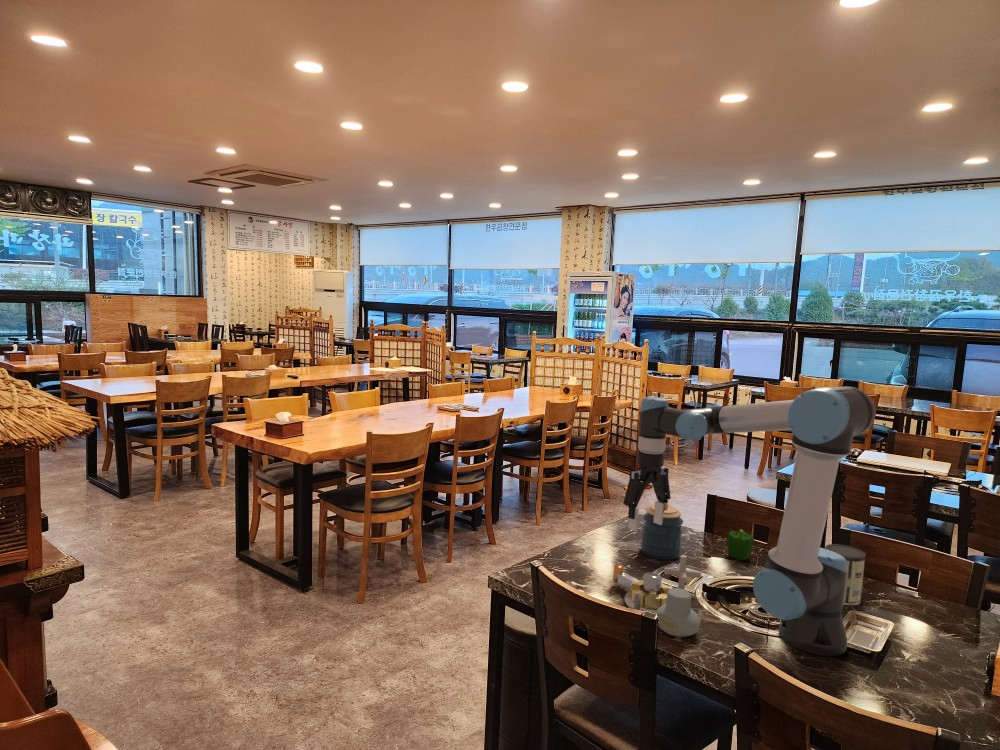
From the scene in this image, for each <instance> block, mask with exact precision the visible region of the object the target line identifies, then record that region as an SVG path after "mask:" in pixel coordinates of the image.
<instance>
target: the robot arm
mask: <svg viewBox="0 0 1000 750" xmlns="http://www.w3.org/2000/svg"><path fill="white" fill-rule="evenodd" d="M876 412H877V411H876V406H875V403H874V401H873V400H872V398H871V397H870V396H869V395H868V393H866V392H864V391H863V390H862V389H860V388H858V387H854V386H848V385H847V386H834V387H833V386H832V387H824V386H823V387H815V388H813V389H809V390H806V391H804V392H802V393H800V394H798V396H796V397H795V398H794V399H787V400H777V401H765V402H758V403H757V402H755V403H746V404H745V403H744V404H732V405H723V406H718V405H717V406H710V407H702V408H691V409H690V408H689V409H679V408H674V407H673V408H672V407H670V405H669V399H667V398H664V397H657V396H645V397H643V398H642V400H641V402H640V410H639V428H638V429H639V430H638V442H637V443H638V444H637V448H638V451H637V452H636V453H637V454H636V455H637V456H636V464H638V468H637V470H635V471H633V470H630V472H629V480H628V482H627V483H628V484H627V488H626V491H625V496H624V499H623V505H624V506H626V507H628V512H627V514H628V515H627V516H628V529H630V530H632V531H634V532H637V531H638V524H639V523H638V522H639V513H640V512H639V510H640V508H638V505H639V502H640V501H641V498H642V496H643V494H644V491H645V489H646V488H648V486H649V485H650V484H651V486H652V488H653V491H654V493H655V497H656V500H655V501H654V505H655V509H654V523H656V524H659V525H662V521H663V513H664V506H665V503H668V504H669V500H671V490H670V482H669V481H670V480H669V471H670V470H669V468H668V467H664V464H665V463H664V462H665V453H664V452H666V450H665V449H666V437H667V435H669V436H673V437H676V438H680V439H684V440H687V441H689V440H691V441H699V440H701V439H702V438H703V437H704V436H706V435H715V434H716V435H717V434H718V435H719V434H735V433H755V432H756V433H757V432H775V431H776V432H777V431H778V432H779V431H780V432H781V431H791V433H792V438H791V443H792V445H793V446H794V447H795V449H796V454H795V460H794V465H793V469H792V470H793V471H792V474H791V479H790V484H789V487H788V488H789V489H788V493H787V498H786V503H785V507H784V512H783V517H782V522H781V526H780V531H779V536H778V539H777V545H776V546H775V547H773V548H771V549H769V551H768V554H767V556H766V557H767V558H766V562H765V566H764V567H765V568H764V569H761V570H759V571H758V573H756V575H755V576H754V579H753V582H752V588H753V589H752V590H753V594H754V597H755V599H756V600H757V601H758V603H759V605H760V607H761V608H762V609H763V610H764V611H765V612H766V613H767V614H769V615H770V616H771V617H773V618H776V619H777V620H780V621H779V625H778V626H779V627H778V634H779V636H780V638H781V639H783V640H784V641H785V642H786V643H787V644H789V645H791V646H792V647H793V648H796V649H798V650H800V651H803V652H806V653H808V654H811V655H812V654H813V655H816V656H817V655H819V656H823V657H836V656H837V657H838V656H840V655H843V654H845V653H846V651H847V648H848V637H847V633H846V632H847V631H846V628H845V625H844V621H843V616H842V615H843V608H844V605H843V601H844V592H845V584H846V576H847V573H848V572H847V561H846V559H845V558H844V557H843V556H841V555H840V554H838V553H835V552H833V551H830V550H827V549H825V547H824V548H823V547H821V544H822V540H823V536H824V535H823V534H824V532H825V531H824V530H825V527H826V522H827V518H828V513H829V508H830V505H831V501H832V500H831V499H832V495H833V491H834V487H835V483H836V479H837V478H836V477H837V474H838V468H839V464H840V461H841V460H842V459H844V458H845V457H847V456H849V455H850V452H851V448H852V444H853V439H854V437H857V436H859V435H862V434H864V433H865V432H868V430H869V429H870V428H871V427H872V425H873V424H874V422H875V419H876Z"/></svg>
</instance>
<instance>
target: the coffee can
mask: <svg viewBox="0 0 1000 750" xmlns="http://www.w3.org/2000/svg"><path fill="white" fill-rule="evenodd" d="M824 549H827V550H830V551H833V552H835V553H838V554H840V555H841V556H843V557H844V558H845V559H846V561H847V572H848V573H847V576H846V584H845V592H844V601H843V606H858V605H860V604H861V602H862V601H861V598H862V592H863V591H862V590H863V589H862V588H863V579H864V573H865V572H864V571H865V560H866V558H867V555H866V553H865V551H863V550H861V549H859V548H856V547H855V546H850V545H846V544H840V543H832V544H831V543H829V544H826V545H825V547H824Z"/></svg>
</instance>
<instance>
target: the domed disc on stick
mask: <svg viewBox="0 0 1000 750" xmlns="http://www.w3.org/2000/svg"><path fill="white" fill-rule="evenodd" d="M624 569H625V566H624V565H622V564H617V563H616V564H614V565H613V579H612V581H613V582H614V583H616V584H619V585H620V586H622V587H623V588H625V589H628V591H630V599H631V600H632V601H633V602H634V598H635V594H640V595H641V603H640V606H644V607H646V608H653V609H658V608H659V607H661V606H662V605H665V604H666V602H667V592H668V590H670V589H672V588H673V586H671V585H666V584H664V583H662V582H661V593H660V595H656V591H653V590H649V594H646V593H644V592H643V591H642V590H643V579H640V580H639V579H637V578H636V577H634V576H632V575H630V574H628V573H627V572H625V571H624Z"/></svg>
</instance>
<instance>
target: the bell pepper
mask: <svg viewBox="0 0 1000 750" xmlns="http://www.w3.org/2000/svg"><path fill="white" fill-rule="evenodd" d="M726 546H727V547H726V548H727V551H728V552H727V553H728V555H729V556H730V557H732V558H734V559H736V560H741V561H745V560H747V559H748V558H749V557H750V555H751V553H752V550H753V547H754V537H753V535H752V534H749V533H746V532H745V531H744V530H743V529H739V531H738V532H736V531H735V530H731V531H730V532H729V533H728V535H727V536H726Z"/></svg>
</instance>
